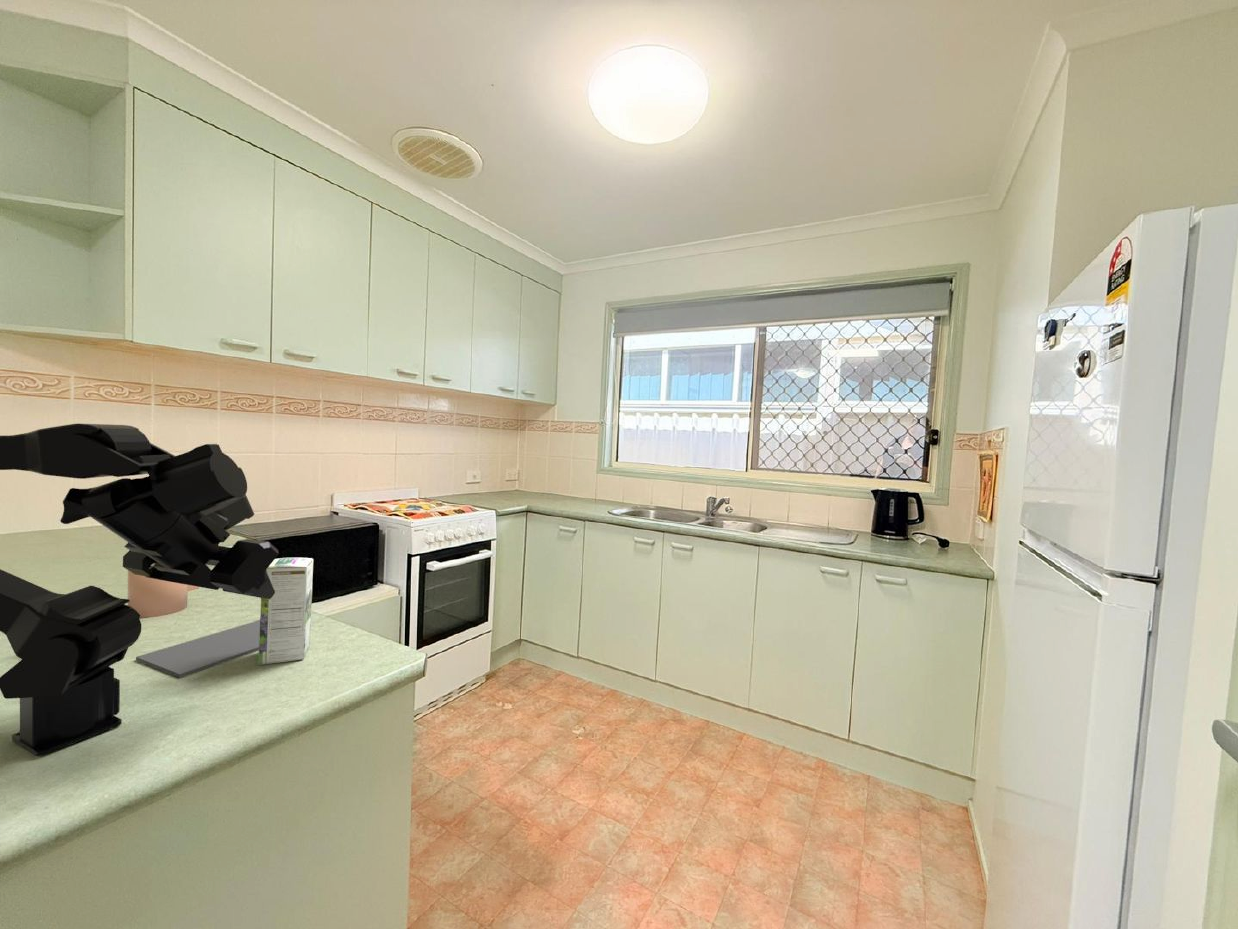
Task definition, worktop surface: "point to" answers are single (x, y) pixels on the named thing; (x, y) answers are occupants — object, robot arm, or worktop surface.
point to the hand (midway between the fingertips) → (245, 591)
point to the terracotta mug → (156, 596)
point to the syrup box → (286, 611)
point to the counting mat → (205, 651)
